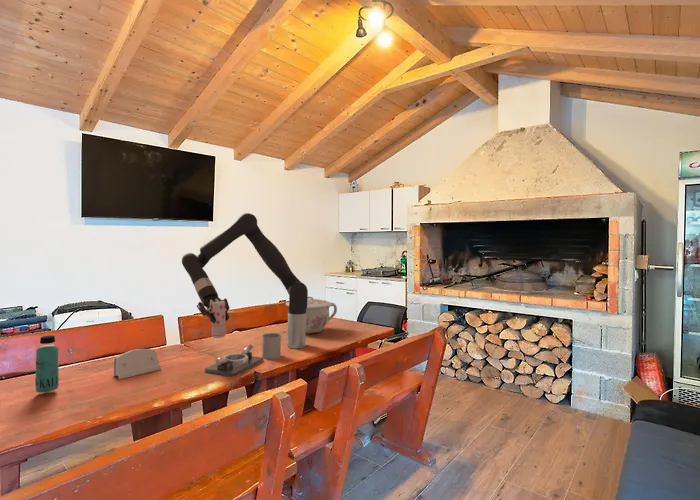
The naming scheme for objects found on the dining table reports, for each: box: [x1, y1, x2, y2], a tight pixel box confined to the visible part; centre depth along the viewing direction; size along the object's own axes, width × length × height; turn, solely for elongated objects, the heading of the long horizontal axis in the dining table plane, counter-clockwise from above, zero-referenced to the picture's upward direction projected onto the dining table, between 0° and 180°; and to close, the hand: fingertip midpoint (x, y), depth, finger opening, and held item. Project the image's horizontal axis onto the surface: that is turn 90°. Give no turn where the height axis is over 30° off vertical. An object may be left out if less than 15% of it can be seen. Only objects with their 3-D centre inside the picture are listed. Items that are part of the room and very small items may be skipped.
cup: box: [261, 332, 282, 360], centre depth 184 cm, size 8×8×10 cm
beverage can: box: [211, 301, 227, 339], centre depth 171 cm, size 6×6×15 cm
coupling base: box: [204, 343, 264, 377], centre depth 169 cm, size 24×14×7 cm, turn 161°
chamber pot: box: [285, 296, 338, 335], centre depth 235 cm, size 28×28×21 cm
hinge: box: [113, 348, 162, 380], centre depth 160 cm, size 17×5×10 cm, turn 140°
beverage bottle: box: [34, 335, 60, 394], centre depth 136 cm, size 6×7×20 cm
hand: (221, 320), depth 170 cm, fingers closed on beverage can, 5 cm apart
